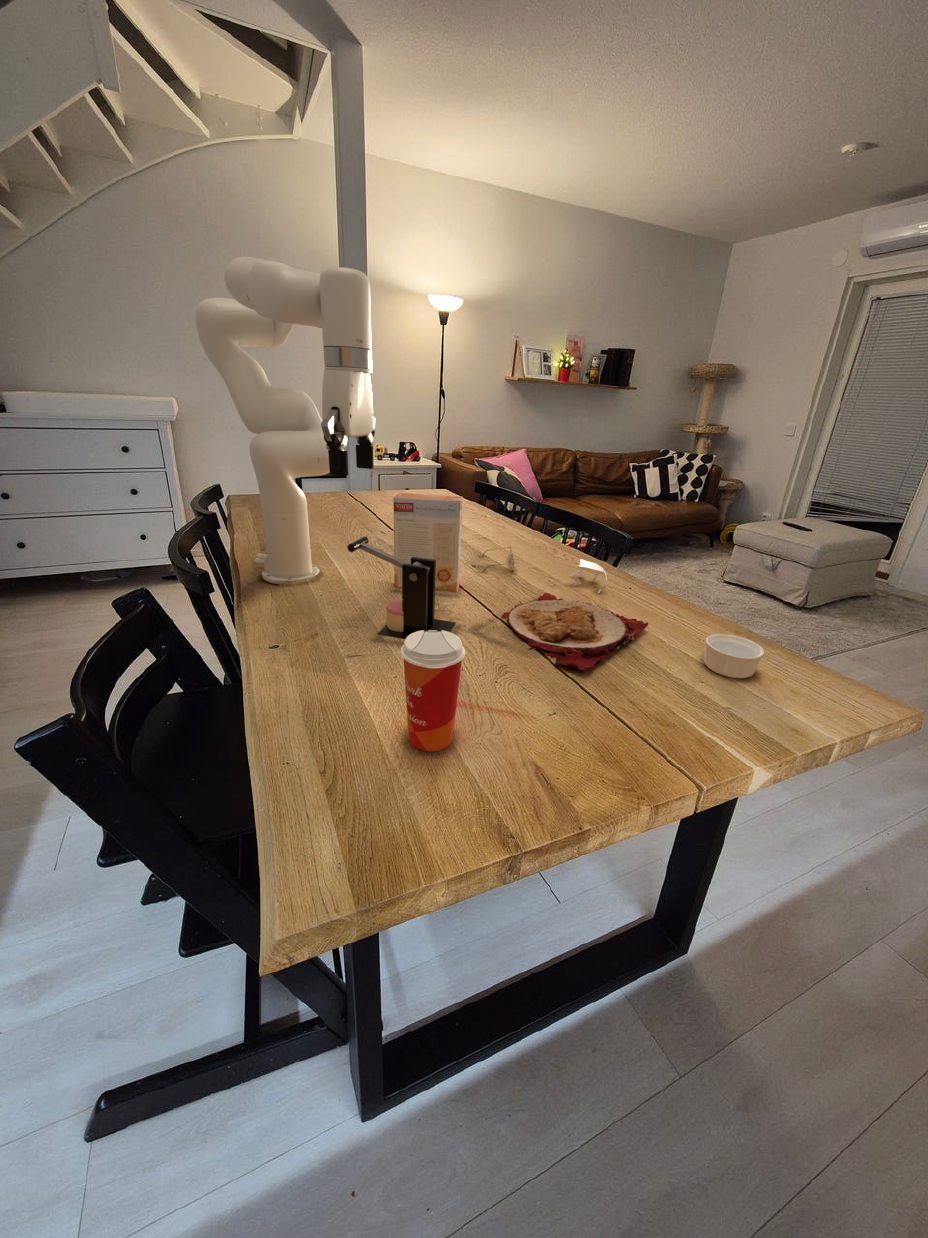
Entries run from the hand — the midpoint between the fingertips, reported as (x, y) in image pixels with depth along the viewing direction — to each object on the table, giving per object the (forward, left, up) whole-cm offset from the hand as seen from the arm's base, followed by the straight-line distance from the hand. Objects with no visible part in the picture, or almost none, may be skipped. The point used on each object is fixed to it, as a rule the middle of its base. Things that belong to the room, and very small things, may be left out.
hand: (352, 471), depth 88 cm
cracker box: (+8, +18, -28) cm, 34 cm away
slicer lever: (+8, -4, -15) cm, 17 cm away
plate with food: (+39, +7, -28) cm, 48 cm away
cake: (+11, -4, -26) cm, 29 cm away
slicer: (+14, -4, -27) cm, 31 cm away
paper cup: (+26, -32, -28) cm, 50 cm away
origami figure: (+43, +35, -28) cm, 62 cm away
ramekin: (+68, +3, -28) cm, 73 cm away
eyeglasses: (+19, +42, -28) cm, 54 cm away
